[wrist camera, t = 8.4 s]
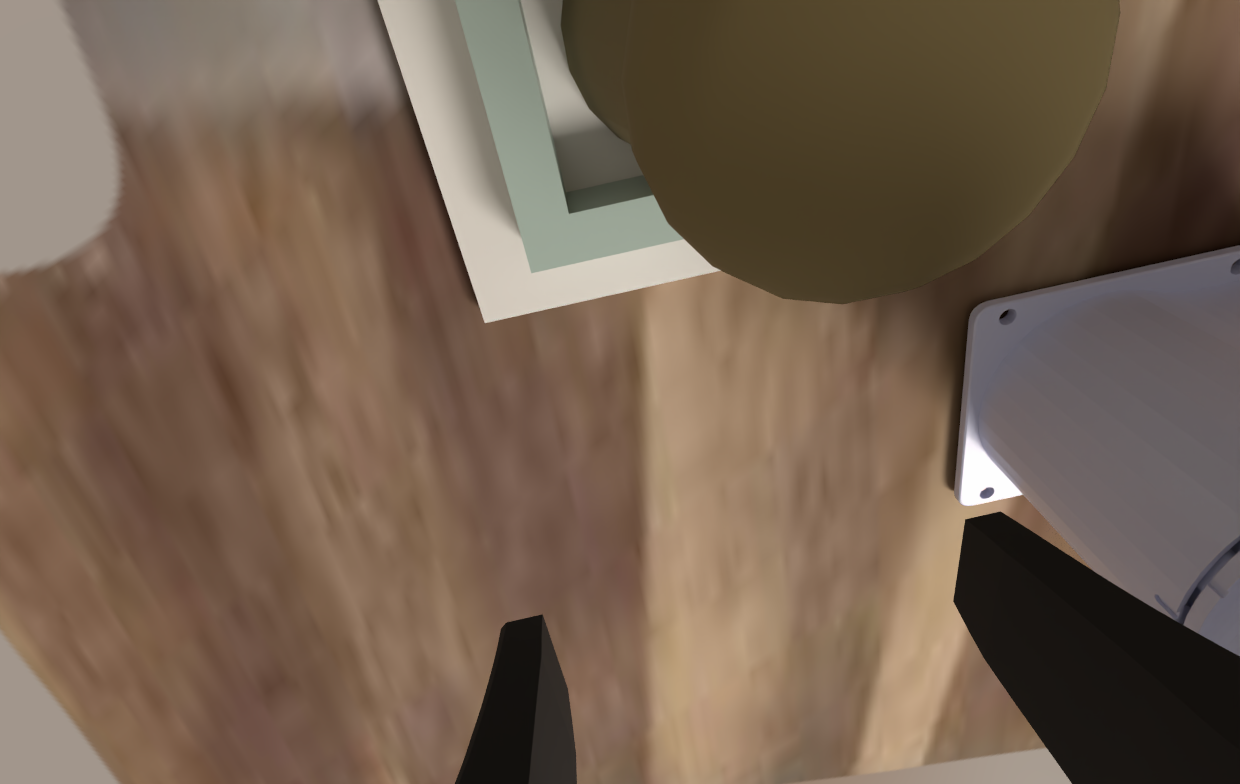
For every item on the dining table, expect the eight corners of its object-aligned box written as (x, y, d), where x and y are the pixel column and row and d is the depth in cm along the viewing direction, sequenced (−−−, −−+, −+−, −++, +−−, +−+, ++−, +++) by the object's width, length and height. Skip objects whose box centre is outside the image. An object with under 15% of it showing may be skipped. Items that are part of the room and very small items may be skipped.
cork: (612, 193, 18) (696, 447, 8) (517, -79, 15) (482, -162, 5) (842, 107, 17) (1209, 276, 8) (797, -195, 14) (1320, -517, 5)
